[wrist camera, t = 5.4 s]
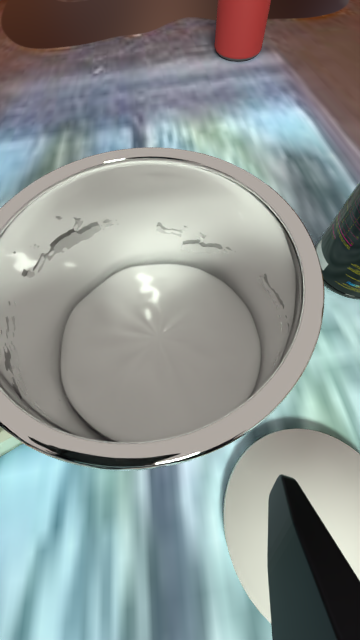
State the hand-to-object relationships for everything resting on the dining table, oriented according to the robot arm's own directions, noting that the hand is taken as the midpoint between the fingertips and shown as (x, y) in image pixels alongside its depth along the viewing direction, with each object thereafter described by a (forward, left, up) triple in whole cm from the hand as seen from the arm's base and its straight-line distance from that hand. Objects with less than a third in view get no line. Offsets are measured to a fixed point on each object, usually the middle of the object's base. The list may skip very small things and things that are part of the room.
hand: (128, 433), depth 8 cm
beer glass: (+2, +2, -10) cm, 11 cm away
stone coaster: (+5, -9, -10) cm, 14 cm away
